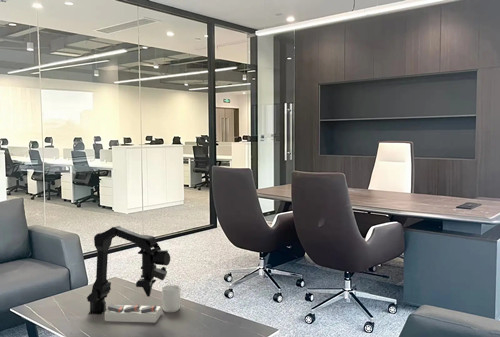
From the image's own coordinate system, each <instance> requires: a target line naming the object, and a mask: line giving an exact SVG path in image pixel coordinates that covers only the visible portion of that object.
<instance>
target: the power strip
mask: <svg viewBox="0 0 500 337" xmlns="http://www.w3.org/2000/svg"><path fill="white" fill-rule="evenodd" d="M116 305H117V306H120V307H124V308H123V311H122V312H115V311H111V310H108V309H106V310H105V311H104V322H123V323H124V322H127V323H157V321H158V320H159V319H160V317H161V315H162V305H161V306H159V305H156V310H155V311H152V312H147V313H141V309H142V308H145V307H149V306H150V305H139V307H140V308H139V309H138V310H137V311H133V312H128V313H125V312H124V309H125V308H126V307H131V306H133V305H131V304H130V305H127V304H126V305H125V304H124V305H123V304H116Z"/></svg>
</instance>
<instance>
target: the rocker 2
mask: <svg viewBox="0 0 500 337" xmlns="http://www.w3.org/2000/svg"><path fill="white" fill-rule="evenodd" d="M139 306H140V304H135V305H132V306H131V307H126V308H125V309H124V312H125V313H128V312H133V311H137V310H138V309H139V308H140V307H139Z"/></svg>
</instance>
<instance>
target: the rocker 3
mask: <svg viewBox="0 0 500 337" xmlns="http://www.w3.org/2000/svg"><path fill="white" fill-rule="evenodd" d="M148 306H149V307H145V308H142V309H141V313H147V312H152V311H155V310H156V306H157V305H156V304H154V305H148Z"/></svg>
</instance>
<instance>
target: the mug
mask: <svg viewBox="0 0 500 337" xmlns="http://www.w3.org/2000/svg"><path fill="white" fill-rule="evenodd" d="M181 291H182V290H181V286H179V285H176V284H172V285H171V284H169V285H164V286H163V287H162V288H161V310H163V311H164V312H165V313H175V312H178V311H179V310H180V308H181V295H182V294H181Z"/></svg>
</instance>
